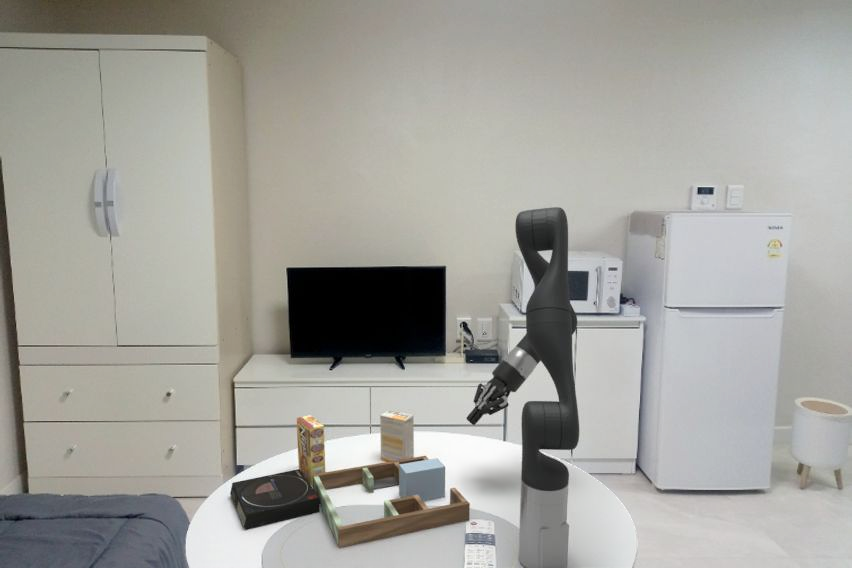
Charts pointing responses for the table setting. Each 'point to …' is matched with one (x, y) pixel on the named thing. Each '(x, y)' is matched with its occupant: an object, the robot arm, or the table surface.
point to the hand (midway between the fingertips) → (469, 422)
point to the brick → (422, 479)
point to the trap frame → (385, 504)
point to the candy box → (310, 447)
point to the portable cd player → (274, 498)
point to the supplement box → (396, 436)
